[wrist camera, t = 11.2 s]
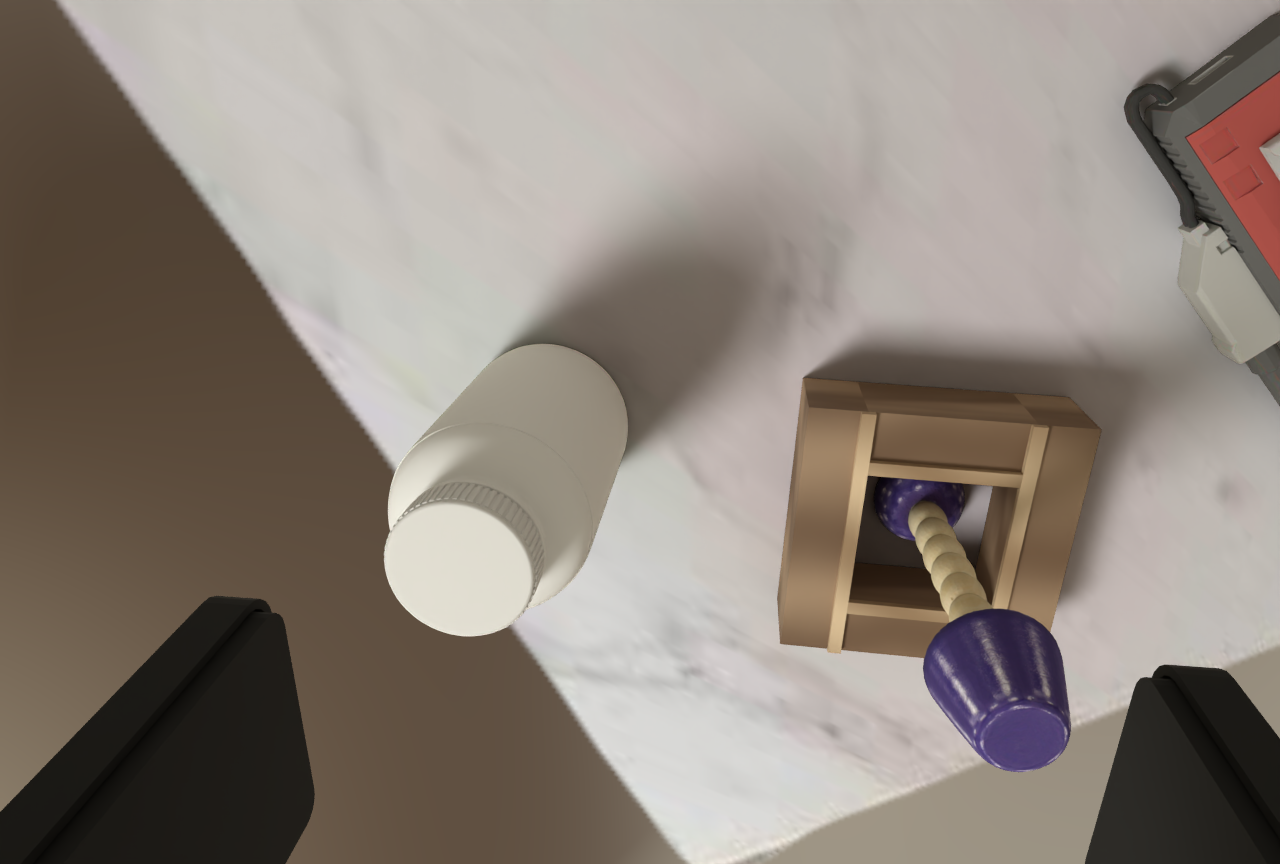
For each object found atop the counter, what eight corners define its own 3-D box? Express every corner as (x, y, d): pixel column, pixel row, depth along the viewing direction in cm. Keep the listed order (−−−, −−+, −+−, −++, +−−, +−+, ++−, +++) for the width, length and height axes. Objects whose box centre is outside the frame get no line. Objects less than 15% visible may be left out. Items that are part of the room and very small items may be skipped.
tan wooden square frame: (803, 377, 42) (809, 409, 38) (1069, 397, 41) (1104, 432, 37) (777, 598, 46) (780, 647, 42) (1016, 620, 45) (1042, 673, 41)
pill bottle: (505, 309, 42) (389, 425, 28) (658, 386, 43) (617, 536, 29) (445, 446, 45) (314, 612, 31) (588, 516, 46) (522, 709, 32)
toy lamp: (988, 472, 43) (1126, 700, 27) (952, 555, 44) (1062, 812, 29) (890, 446, 43) (973, 659, 27) (858, 530, 44) (918, 773, 29)
